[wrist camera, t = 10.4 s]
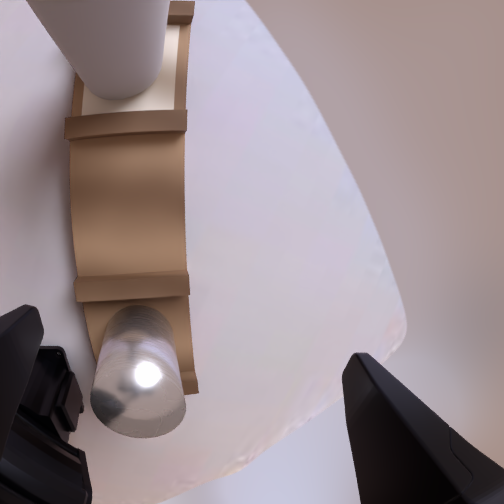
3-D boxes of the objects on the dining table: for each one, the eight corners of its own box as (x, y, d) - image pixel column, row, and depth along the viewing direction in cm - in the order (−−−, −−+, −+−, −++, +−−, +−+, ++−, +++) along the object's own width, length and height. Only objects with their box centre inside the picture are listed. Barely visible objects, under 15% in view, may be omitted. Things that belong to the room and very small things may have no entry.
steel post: (113, 366, 18) (105, 439, 12) (100, 307, 17) (78, 370, 11) (176, 362, 20) (190, 434, 13) (170, 302, 19) (180, 364, 12)
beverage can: (99, 31, 13) (64, -103, 2) (172, 39, 14) (209, -104, 3) (74, 99, 14) (-21, 3, 3) (150, 108, 15) (146, -8, 4)
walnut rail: (193, 372, 22) (198, 394, 19) (106, 379, 20) (103, 401, 17) (189, 19, 16) (195, 0, 13) (90, 24, 14) (83, 6, 11)
